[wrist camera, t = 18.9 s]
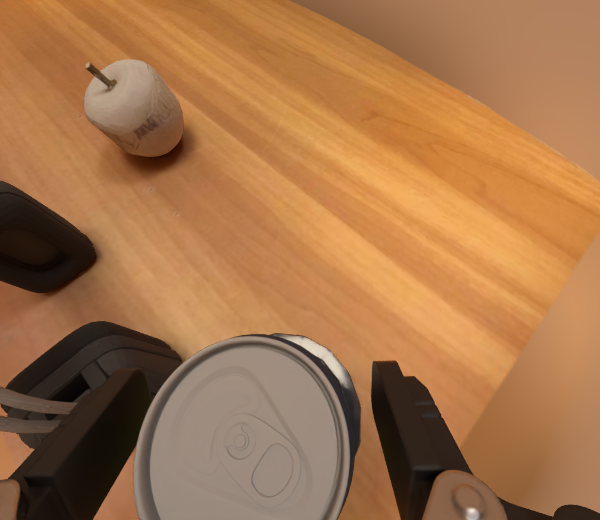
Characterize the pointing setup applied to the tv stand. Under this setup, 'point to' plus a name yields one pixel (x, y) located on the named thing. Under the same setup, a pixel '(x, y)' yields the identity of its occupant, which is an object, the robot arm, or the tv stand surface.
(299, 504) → the beverage can
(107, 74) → the decorative object
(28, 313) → the tv stand surface
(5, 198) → the headphones
